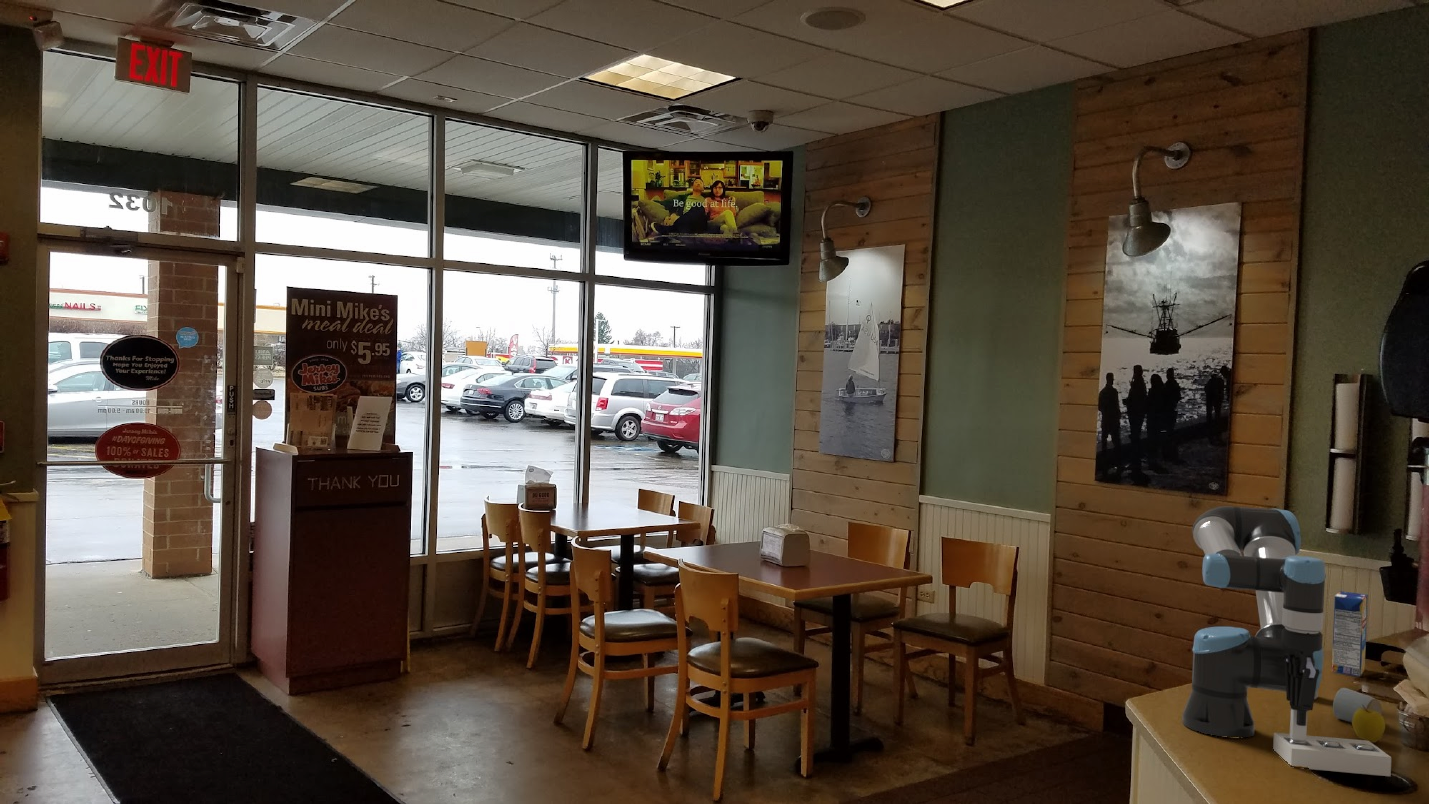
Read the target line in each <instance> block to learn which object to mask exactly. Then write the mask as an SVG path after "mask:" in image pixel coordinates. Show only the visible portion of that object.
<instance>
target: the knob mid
mask: <svg viewBox="0 0 1429 804" xmlns="http://www.w3.org/2000/svg"><path fill="white" fill-rule="evenodd" d="M1321 745H1322V746H1323V747H1328V748H1340V749H1341V745H1339V744H1338V743H1336V742H1332V741H1322V742H1321Z"/></svg>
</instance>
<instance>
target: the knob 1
mask: <svg viewBox="0 0 1429 804" xmlns="http://www.w3.org/2000/svg"><path fill="white" fill-rule="evenodd" d="M1288 742H1289V743H1290V744H1294V745H1306V746H1307V742H1306V741H1305V740H1294V739H1291V738H1289V739H1288Z"/></svg>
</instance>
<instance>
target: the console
mask: <svg viewBox="0 0 1429 804" xmlns="http://www.w3.org/2000/svg"><path fill="white" fill-rule="evenodd" d="M1289 738H1290V733H1283V732H1273V745H1272V747H1273V748H1272V750H1273V749H1274V751H1276V752H1277V753H1278V754H1279V755H1280V756H1281V757H1282V758H1283V759H1284V760H1285V761H1287V762H1288V764H1290V765H1292V766H1302V767H1308V768H1309V769H1308V770H1315V771H1330V772H1339V773H1348V774H1349V773H1350V774H1359V775H1360V774H1361V775H1370V776H1382V777H1383V776H1385V777H1392V776H1391V775H1392V773H1391V772H1392V756H1390V755H1389V754H1388V753H1386V752H1385V751H1384V750H1382V749H1381V748H1379V747H1378V746H1377V745H1375V744H1374V743H1373V742H1370V741H1365V740H1363V739H1354V738H1353V739H1352V738H1340V737H1331V736H1330V737H1329V736H1317V735H1307V734H1306V742H1307V746H1306V745H1294V744H1290V743H1289V742H1288V739H1289ZM1322 741H1332V742H1336V743H1338V744H1339V745H1341V749H1340V748H1328V747H1323V746H1322V745H1321V742H1322ZM1355 744H1366V745H1369V746H1372V747H1373V748H1374V752H1373V751H1362V750H1357V749H1356V748H1354V745H1355ZM1274 751H1273V752H1274ZM1280 756H1279V757H1280ZM1281 757H1280V758H1281ZM1282 758H1281V759H1282ZM1283 759H1282V760H1283ZM1284 760H1283V761H1284ZM1285 761H1284V762H1285ZM1288 764H1287V765H1288Z"/></svg>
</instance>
